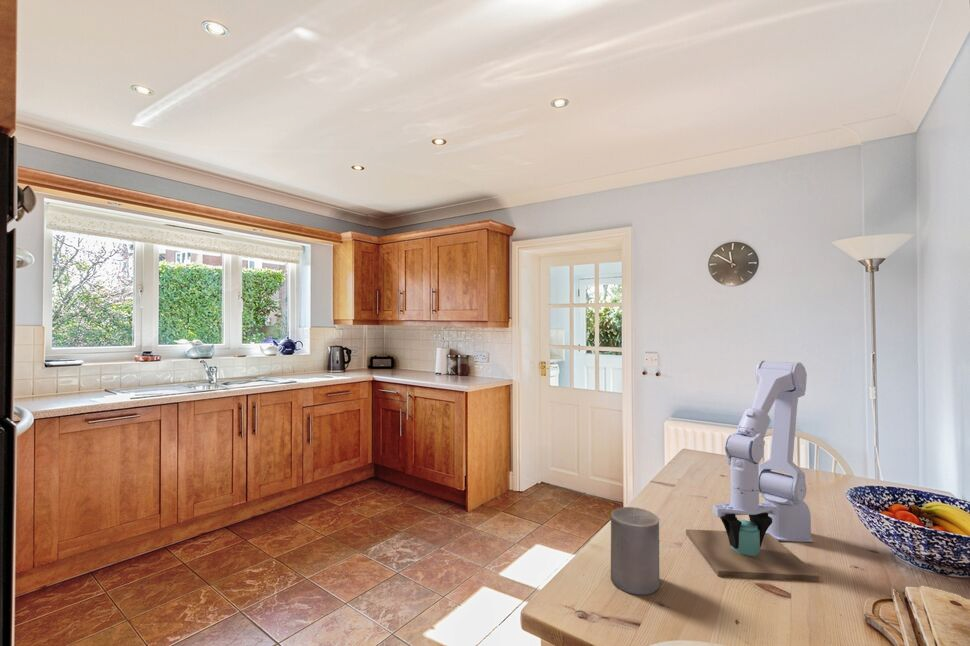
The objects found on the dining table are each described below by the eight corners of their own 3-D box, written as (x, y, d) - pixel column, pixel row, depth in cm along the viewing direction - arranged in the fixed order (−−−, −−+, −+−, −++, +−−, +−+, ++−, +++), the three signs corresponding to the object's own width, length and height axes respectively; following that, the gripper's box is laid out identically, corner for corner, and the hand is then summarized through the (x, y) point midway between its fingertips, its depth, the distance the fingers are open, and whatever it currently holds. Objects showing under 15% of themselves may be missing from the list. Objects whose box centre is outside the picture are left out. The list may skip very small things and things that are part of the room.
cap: (747, 543, 107) (747, 518, 108) (764, 555, 102) (763, 529, 102) (727, 544, 107) (727, 519, 107) (743, 556, 101) (742, 529, 101)
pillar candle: (605, 569, 98) (605, 500, 99) (650, 570, 98) (650, 500, 98) (617, 595, 89) (617, 519, 89) (667, 596, 88) (666, 519, 89)
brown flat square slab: (768, 537, 113) (768, 532, 113) (819, 581, 93) (818, 575, 93) (685, 534, 115) (685, 529, 115) (718, 576, 95) (718, 570, 95)
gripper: (762, 480, 109) (762, 536, 109) (705, 482, 108) (705, 539, 108) (783, 490, 102) (784, 551, 102) (722, 492, 101) (723, 553, 101)
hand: (745, 546), depth 104 cm, fingers closed on cap, 5 cm apart
